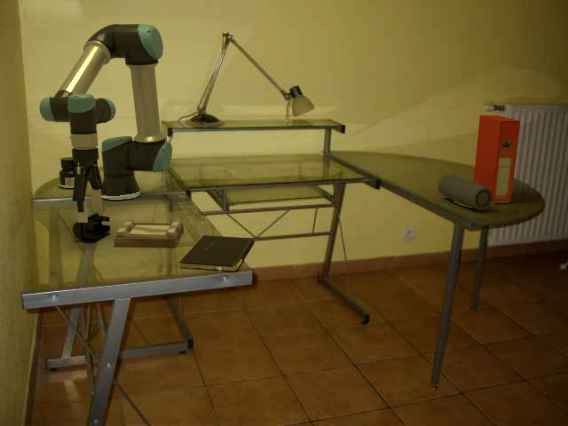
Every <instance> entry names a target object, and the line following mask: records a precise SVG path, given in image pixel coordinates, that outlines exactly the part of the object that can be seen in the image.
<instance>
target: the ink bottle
mask: <svg viewBox="0 0 568 426" xmlns="http://www.w3.org/2000/svg"><path fill="white" fill-rule="evenodd" d="M75 167H79V163H78V162H75V161H73V159H72V156H71V157H70V156H67V157H65V156H64V157H61V158H60V168H61V170H59V172H58V176H59V185H60V184H61V185H68V186H73V185H74V177H75V171H74V168H75Z"/></svg>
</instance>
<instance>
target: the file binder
mask: <svg viewBox="0 0 568 426" xmlns="http://www.w3.org/2000/svg"><path fill="white" fill-rule="evenodd" d="M520 127H521V120H519V119H516V118H515V119H514V118H511V117H506V116H504V115H499V114H483V115H482V114H481V115H479V121H478V131H477V132H478V133H477V141H476V142H477V143H476V151H475V152H476V153H475V162H474V173H473V180H472V181H473V182H475V183H478V184H480V185H482V186H485V187H487V188H488V189H490V190H491V192H492V194H493V200H492V202H501V201H511V202H512V198H513V197H512V195H513V187H514V178H515V170H516V169H515V168H516V163H517V161H516V160H517V151H518V145H519V135H520Z"/></svg>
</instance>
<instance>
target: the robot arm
mask: <svg viewBox="0 0 568 426" xmlns="http://www.w3.org/2000/svg"><path fill="white" fill-rule="evenodd" d="M82 51H83V52H82V54H81V56H80V57H79V59H78V60H77V61H76V63H75V65H74V66H73V67H72V69H71V70H70V72H69V74H68V75H67V77H66V78H65V79H64V81H63V83H62V84H61V85H60V87H59V89H58V90H57V92H56V93H55V95H54V96H49V97H47V96H46V97H44V98H42V99H41V100H40V103H39V114H40V115H41V118H42V119H43V120H44V121H46V122H53V123H69V128H70V136H69V140H70V142H71V147H72V149H71V155H72V156H71V157H72V159H73V161H75V162H78V166H79V167H75V168H74V171H75V177H74V189H72V191H73V192H72V202H75V205H76V206H75V207H76V216H77V222H84V223H87V222H88V218H87V217H88V207H87V200H86V194H87V189H88V183H89V185H90V186H91V191H90V193H91V194H90V195H91V196H90V197H91V207H92V211H102V209H103V206H102V198H101V195H107V196H120V195H125V194H132V193H136V192H139V191H140V192H141V188H140V186H139V183H138V181H137V179H136V175H135V172H147V173H148V172H149V173H163V172H166V171H167V170H168V169H169V167H170V165H171V162H172V157H173V146H172V143H171V142H169V141H167V140H166V135H165V134H164V133H162V131H161V130H162V129H161V121H160V112H159V111H160V110H159V99H158V90H157V88H158V87H157V80H156V79H157V78H156V70H155V69H156V67H157V66H158V64H159V60H160V59H162V57H163V54H164V43H163V39H162V36H161V33H160V31H159V29H158V28H157V27H156V26H155V25H153V24H146V23H145V24H144V23H127V24H126V23H123V24H122V23H113V24H109V25H105V26H103V27H102V28H100V29H99V30H97V31H96V32H94V33H93V34H92V35H91V36H90V37H89V38H88V40H87V41H86V42H85V44H84V46H83V50H82ZM113 59H124V63H125V66H126V67H128V68H129V70H130V78H131V79H130V80H131V88H132V97H133V104H134V106H133V107H134V113H135V115H134V116H135V122H136V132H137V133H136V135H135V136H134V137H133V136H131V135H121V136H114V137H110V138H106V139H103V141H102V142H101V160H102V172H103V180H102V178H101V172H100V169H99V165H98V160H99V159H100V158H99V157H100V156H99V148H98V146H99V137H98V130H97V129H98V128H97V127H98V125H99V124H100V125H101V124H106V123H108V122H110V121H112V120H113V119H114V118H115V116H116V112H117V109H116V106H115V104H114V102H113V100H111V99H109V98H106V97H97V98H95V97H94V95H93V94H89V93H88V90H89V89H90V88H91V86H92V85H93V83H94V81H95V80H96V78H97V77H98V75H99V73H100V72H101V70H102V68H103V66H105V65H107V64H109V63H110V61H111V60H113Z"/></svg>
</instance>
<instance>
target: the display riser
mask: <svg viewBox="0 0 568 426" xmlns="http://www.w3.org/2000/svg"><path fill="white" fill-rule="evenodd" d="M181 221H182V220H173V222H135V221H134V219H127V220H125V222H124V223H123V224H122V225H121V227H120V228H119V229H118V230H117V231H116V236H115V237H114V238H113V247H114V248H115V247H116V248H118V247H120V248H121V247H122V248H123V247H124V248H127V247H128V248H176V246H177V243H179V241H180V238H181V236H183V233H184V231H185V229H184V226H185V225H184V224H185V223H183V222H181Z"/></svg>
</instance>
